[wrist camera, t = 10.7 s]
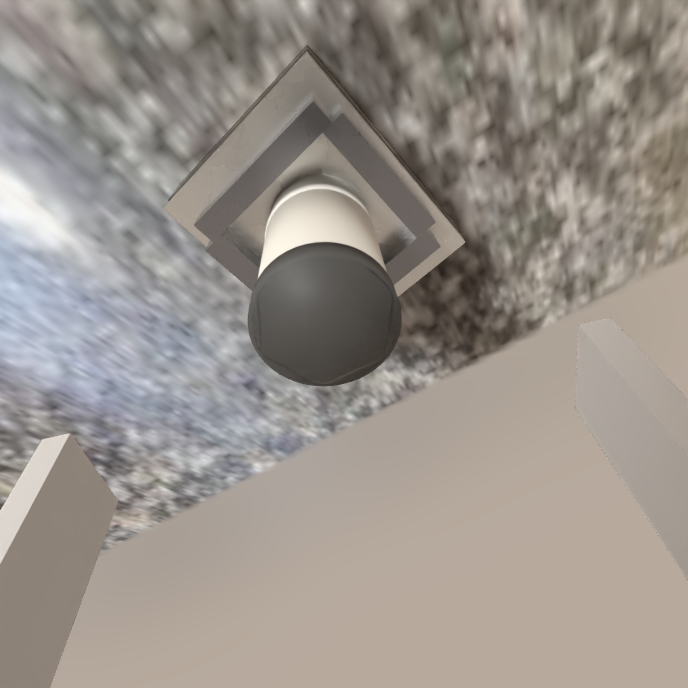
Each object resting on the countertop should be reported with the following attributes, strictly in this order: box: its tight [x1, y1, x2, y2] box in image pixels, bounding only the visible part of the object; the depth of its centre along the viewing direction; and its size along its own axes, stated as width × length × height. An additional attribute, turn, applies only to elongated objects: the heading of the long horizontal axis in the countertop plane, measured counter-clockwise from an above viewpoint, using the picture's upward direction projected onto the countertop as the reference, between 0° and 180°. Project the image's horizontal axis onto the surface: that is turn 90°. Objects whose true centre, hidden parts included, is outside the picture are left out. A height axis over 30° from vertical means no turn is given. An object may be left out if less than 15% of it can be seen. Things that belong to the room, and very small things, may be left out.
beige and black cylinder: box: [248, 174, 401, 386], centre depth 22 cm, size 5×5×10 cm
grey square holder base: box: [163, 45, 465, 297], centre depth 29 cm, size 12×10×7 cm
